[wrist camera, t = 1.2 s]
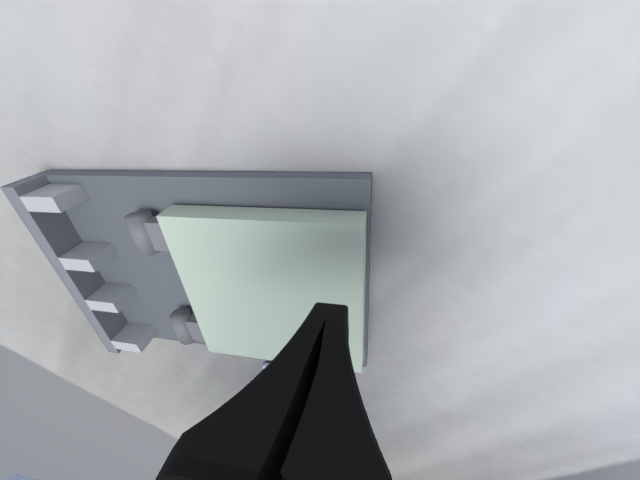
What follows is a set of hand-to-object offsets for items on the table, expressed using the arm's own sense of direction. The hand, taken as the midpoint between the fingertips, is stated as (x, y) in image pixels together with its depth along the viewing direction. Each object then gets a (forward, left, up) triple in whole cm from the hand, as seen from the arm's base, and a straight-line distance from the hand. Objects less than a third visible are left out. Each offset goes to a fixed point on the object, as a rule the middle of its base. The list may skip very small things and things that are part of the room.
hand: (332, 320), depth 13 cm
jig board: (-6, +12, -10) cm, 17 cm away
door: (-6, +8, -8) cm, 13 cm away
